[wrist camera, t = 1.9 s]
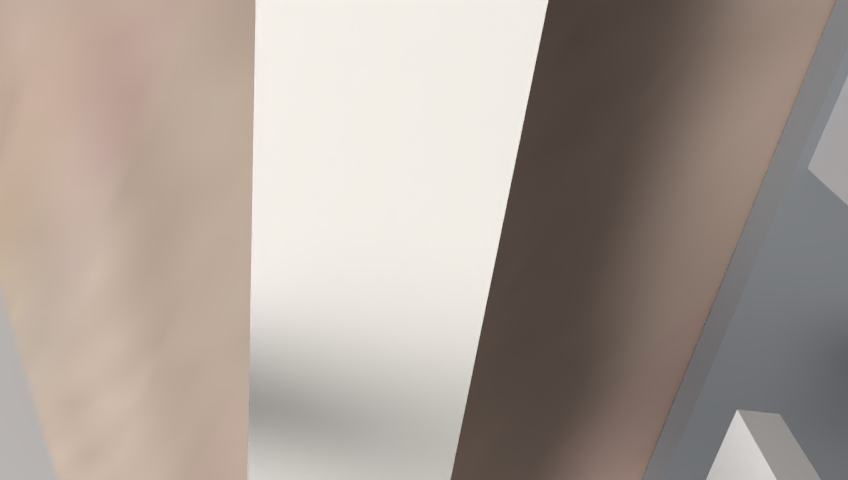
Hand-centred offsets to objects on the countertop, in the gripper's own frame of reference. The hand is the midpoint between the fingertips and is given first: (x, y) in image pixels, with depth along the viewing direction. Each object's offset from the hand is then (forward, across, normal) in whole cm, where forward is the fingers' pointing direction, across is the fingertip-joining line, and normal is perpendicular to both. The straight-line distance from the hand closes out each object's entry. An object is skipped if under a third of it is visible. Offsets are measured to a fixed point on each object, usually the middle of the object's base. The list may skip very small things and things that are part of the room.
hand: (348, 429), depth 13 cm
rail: (+6, 0, +1) cm, 6 cm away
